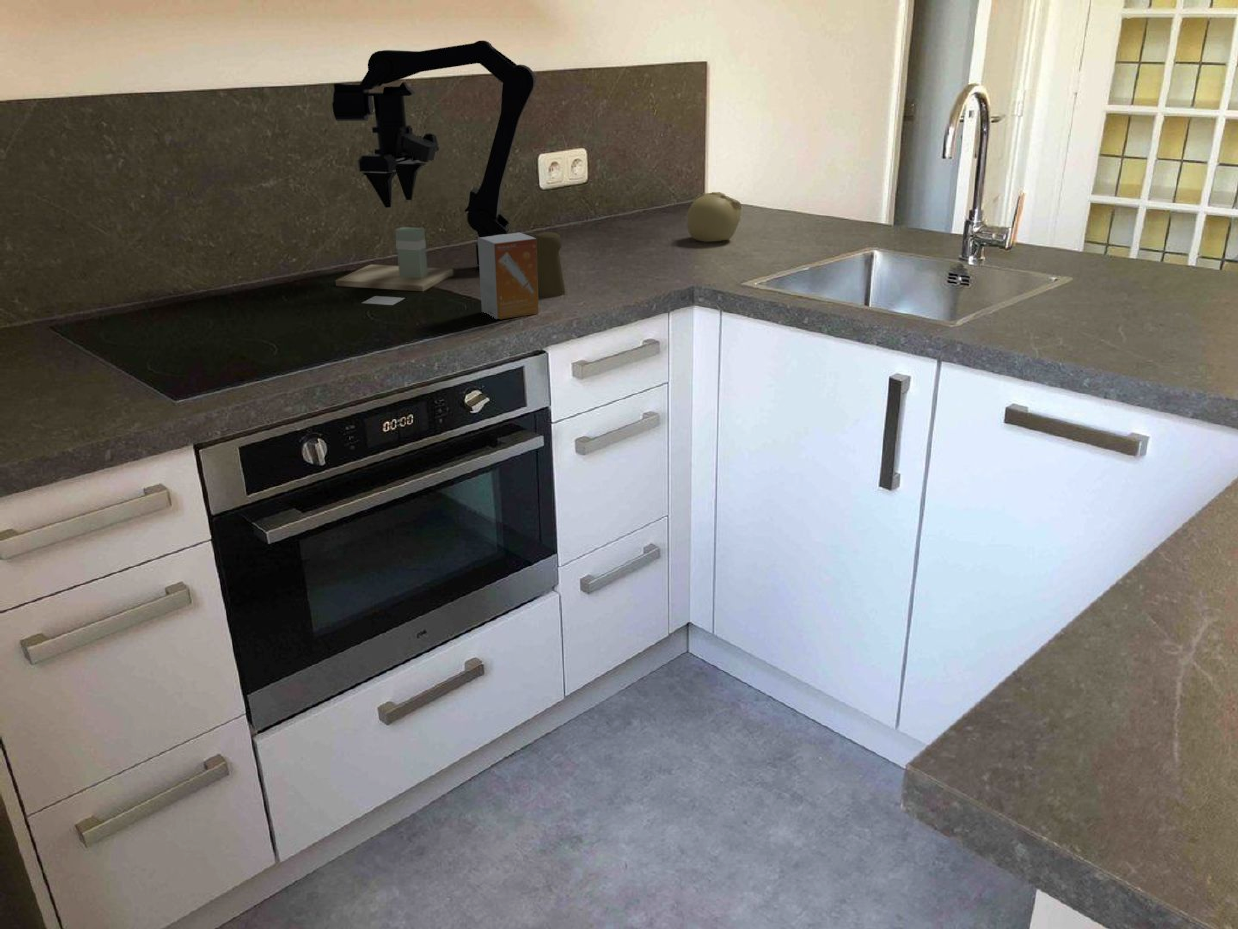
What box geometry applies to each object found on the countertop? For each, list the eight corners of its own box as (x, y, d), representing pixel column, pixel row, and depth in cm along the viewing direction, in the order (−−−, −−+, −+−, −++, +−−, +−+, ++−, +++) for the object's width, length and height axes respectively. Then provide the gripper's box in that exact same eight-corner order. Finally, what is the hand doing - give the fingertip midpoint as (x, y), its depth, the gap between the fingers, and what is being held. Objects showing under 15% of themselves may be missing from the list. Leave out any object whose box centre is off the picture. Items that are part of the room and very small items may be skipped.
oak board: (453, 275, 196) (452, 269, 196) (423, 292, 184) (422, 285, 184) (371, 270, 201) (370, 264, 200) (336, 286, 188) (335, 280, 188)
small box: (497, 321, 166) (493, 243, 161) (481, 312, 171) (476, 236, 165) (540, 313, 170) (537, 237, 165) (522, 305, 175) (519, 231, 169)
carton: (428, 274, 191) (424, 227, 188) (421, 278, 189) (417, 230, 185) (406, 273, 192) (402, 226, 189) (399, 277, 190) (394, 229, 186)
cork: (570, 290, 185) (568, 230, 180) (558, 298, 180) (556, 237, 175) (540, 287, 187) (538, 228, 182) (527, 295, 181) (524, 235, 177)
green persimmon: (746, 238, 228) (748, 190, 224) (722, 247, 219) (724, 197, 215) (702, 233, 234) (703, 186, 230) (677, 242, 225) (678, 193, 220)
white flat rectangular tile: (405, 298, 179) (405, 297, 179) (392, 305, 175) (392, 304, 175) (375, 297, 181) (374, 295, 181) (361, 303, 176) (361, 302, 176)
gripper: (407, 125, 180) (415, 213, 186) (449, 117, 197) (455, 197, 203) (352, 124, 183) (362, 210, 189) (398, 116, 199) (405, 195, 205)
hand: (398, 203), depth 197 cm, fingers open, 9 cm apart
